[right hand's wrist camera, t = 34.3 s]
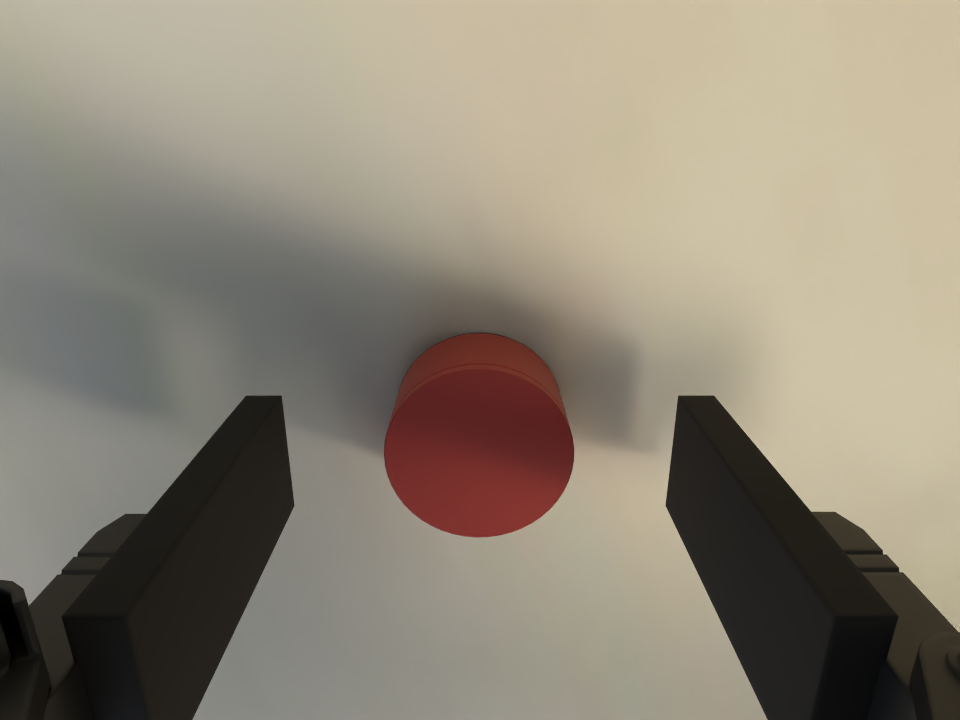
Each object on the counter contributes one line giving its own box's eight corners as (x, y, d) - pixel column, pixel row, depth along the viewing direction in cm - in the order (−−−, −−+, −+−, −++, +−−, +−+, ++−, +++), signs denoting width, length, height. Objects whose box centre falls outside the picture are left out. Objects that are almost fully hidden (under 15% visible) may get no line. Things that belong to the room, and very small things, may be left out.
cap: (589, 371, 16) (608, 414, 14) (517, 503, 17) (523, 562, 15) (435, 305, 15) (428, 337, 13) (373, 446, 17) (356, 498, 14)
